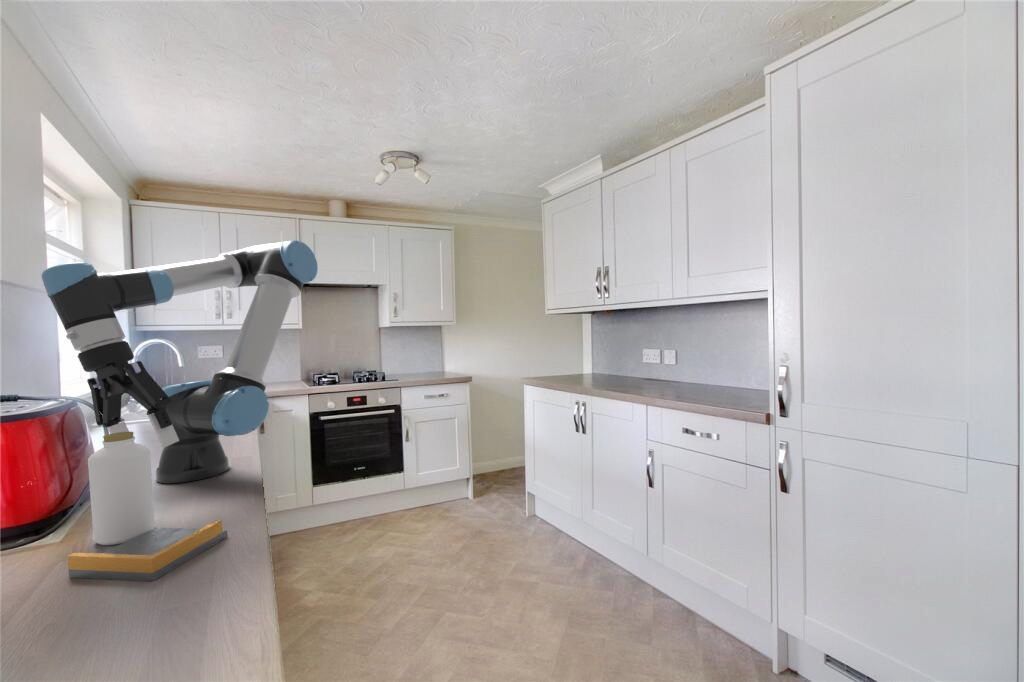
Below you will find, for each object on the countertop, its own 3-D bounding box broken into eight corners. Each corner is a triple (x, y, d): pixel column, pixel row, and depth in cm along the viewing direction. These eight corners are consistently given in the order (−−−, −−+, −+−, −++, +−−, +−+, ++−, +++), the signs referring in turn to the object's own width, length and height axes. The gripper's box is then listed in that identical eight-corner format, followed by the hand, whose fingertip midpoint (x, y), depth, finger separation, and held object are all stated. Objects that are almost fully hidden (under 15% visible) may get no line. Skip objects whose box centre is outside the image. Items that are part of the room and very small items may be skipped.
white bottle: (166, 528, 85) (160, 429, 84) (115, 550, 77) (108, 440, 76) (134, 524, 87) (127, 428, 87) (81, 544, 79) (73, 439, 79)
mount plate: (155, 534, 82) (154, 516, 82) (227, 536, 80) (226, 518, 80) (69, 577, 68) (67, 555, 68) (153, 581, 66) (151, 559, 66)
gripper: (43, 366, 89) (93, 467, 92) (116, 334, 79) (169, 448, 82) (89, 355, 96) (134, 449, 99) (162, 324, 86) (208, 430, 89)
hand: (150, 449), depth 90 cm, fingers open, 13 cm apart
